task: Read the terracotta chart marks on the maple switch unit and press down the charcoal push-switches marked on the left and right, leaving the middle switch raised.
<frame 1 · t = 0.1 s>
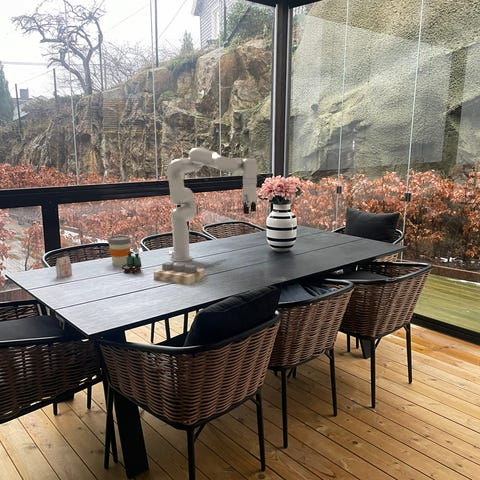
hand: (249, 212, 266), 31 cm above the table, tool pointing down, fingers open, 9 cm apart
reusable coffee cup: (120, 263, 283), on the table
switch unit: (179, 277, 252), on the table
button c: (191, 270, 248), point 5 cm above the table, slide at 0.0 cm
button a: (168, 267, 254), point 5 cm above the table, slide at 0.0 cm
green tank cart: (132, 273, 263), on the table
tea bag: (64, 276, 257), on the table
button b: (179, 268, 251), point 5 cm above the table, slide at 0.0 cm
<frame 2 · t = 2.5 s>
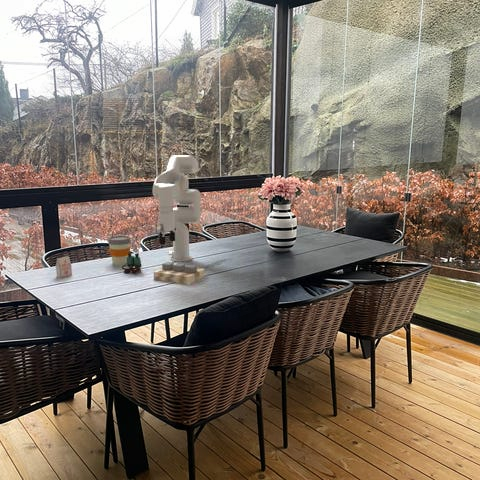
hand: (167, 242, 251), 18 cm above the table, tool pointing down, fingers open, 8 cm apart
nothing on the table moved.
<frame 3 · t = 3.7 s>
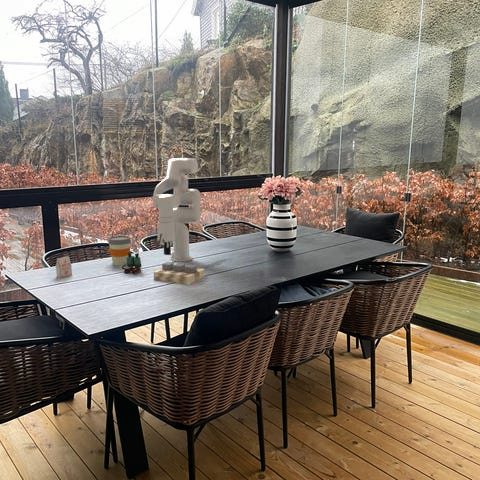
hand: (167, 254, 252), 12 cm above the table, tool pointing down, fingers closed
nothing on the table moved.
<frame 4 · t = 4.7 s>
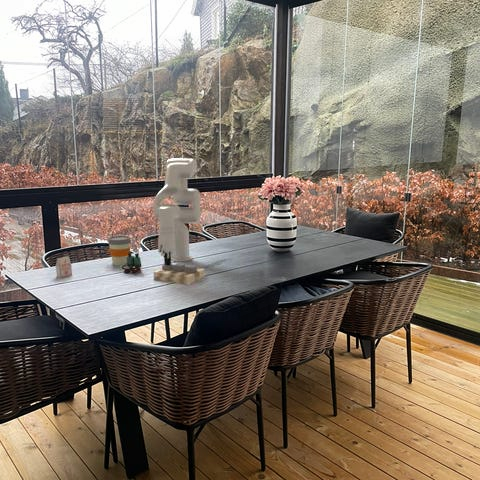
hand: (167, 264, 254), 6 cm above the table, tool pointing down, fingers closed
button a: (168, 268, 254), point 4 cm above the table, slide at 0.8 cm, touching gripper
everything else where it was.
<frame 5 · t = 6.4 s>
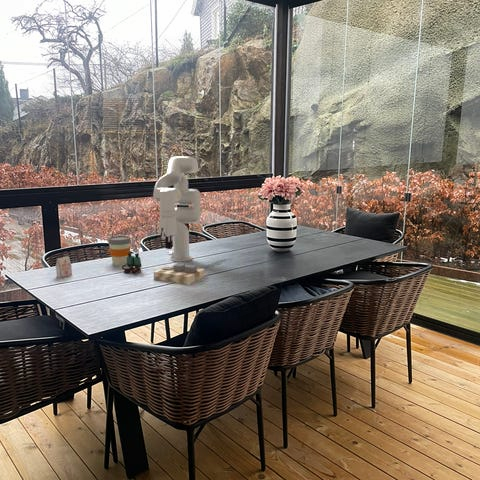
hand: (168, 248, 252), 15 cm above the table, tool pointing down, fingers closed
button a: (168, 271, 255), point 2 cm above the table, slide at 2.5 cm
everything else where it was.
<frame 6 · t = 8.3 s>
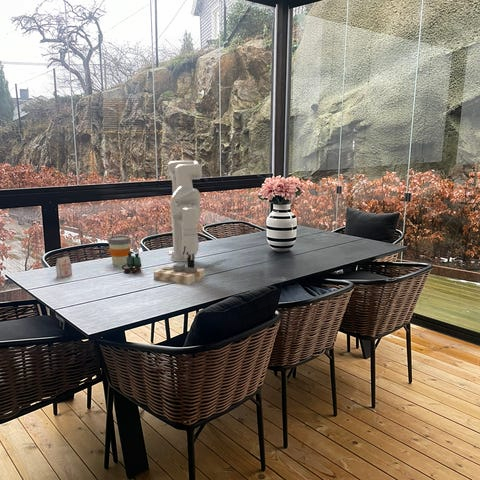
hand: (191, 266, 248), 7 cm above the table, tool pointing down, fingers closed
button c: (191, 270, 248), point 5 cm above the table, slide at 0.3 cm, touching gripper
everything else where it was.
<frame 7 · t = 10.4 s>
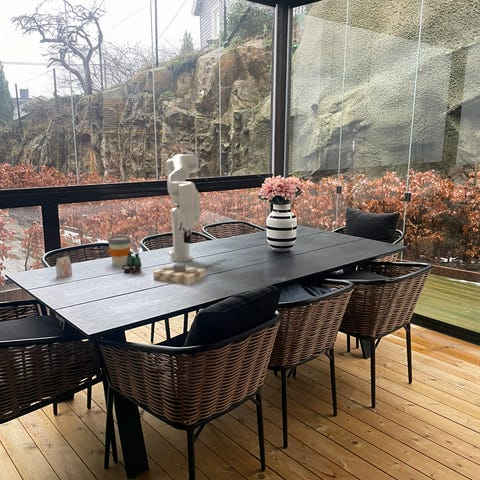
hand: (187, 242, 251), 18 cm above the table, tool pointing down, fingers closed
button c: (191, 274, 249), point 2 cm above the table, slide at 2.5 cm
everything else where it was.
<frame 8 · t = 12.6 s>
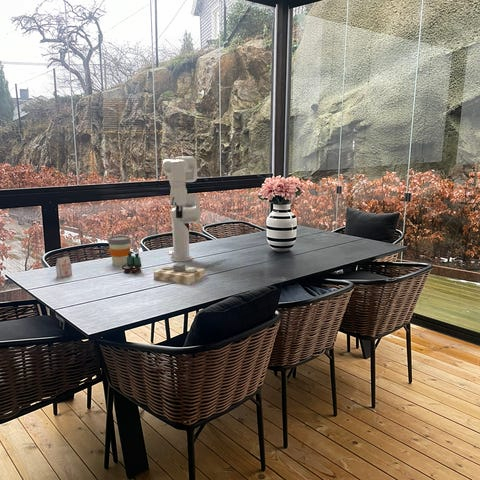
hand: (179, 217, 262), 29 cm above the table, tool pointing down, fingers closed
nothing on the table moved.
at the end: button a slide at 2.5 cm; button c slide at 2.5 cm; button b slide at 0.0 cm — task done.
